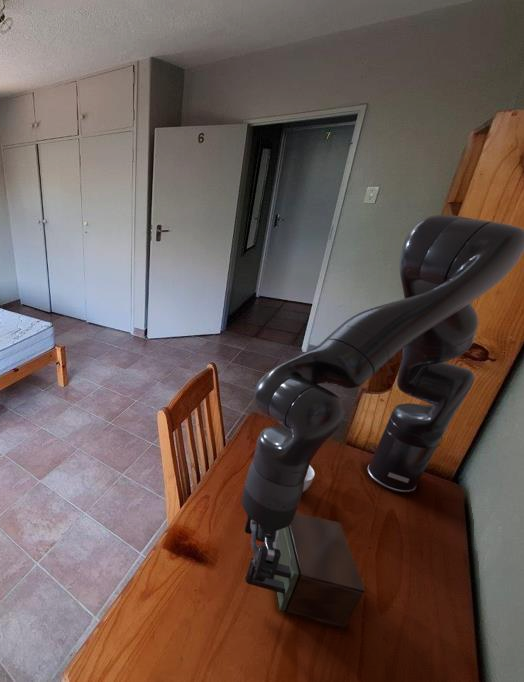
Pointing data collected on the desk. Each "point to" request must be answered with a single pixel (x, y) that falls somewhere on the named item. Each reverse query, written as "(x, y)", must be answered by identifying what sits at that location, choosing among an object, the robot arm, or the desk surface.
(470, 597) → the desk surface
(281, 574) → the cupboard door
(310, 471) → the cup
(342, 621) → the cupboard
